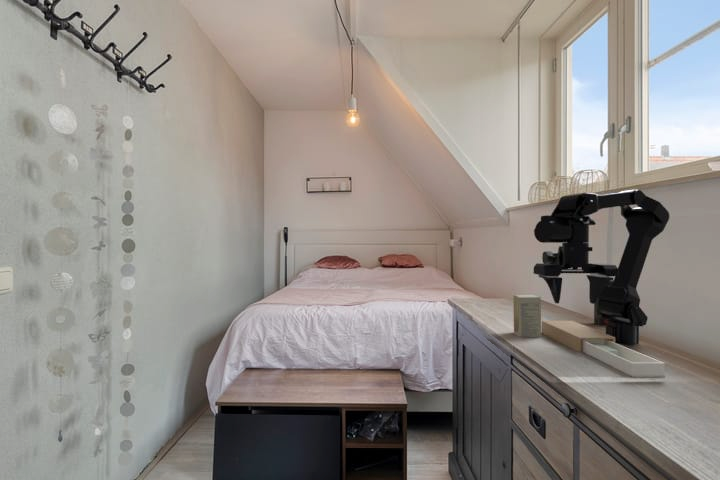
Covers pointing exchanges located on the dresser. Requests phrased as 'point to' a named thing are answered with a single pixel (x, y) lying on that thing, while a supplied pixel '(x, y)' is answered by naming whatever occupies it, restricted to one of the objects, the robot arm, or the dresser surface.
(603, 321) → the deodorant
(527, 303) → the skincare box
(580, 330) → the sleeve
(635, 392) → the dresser surface
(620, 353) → the tray
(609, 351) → the soap bar
